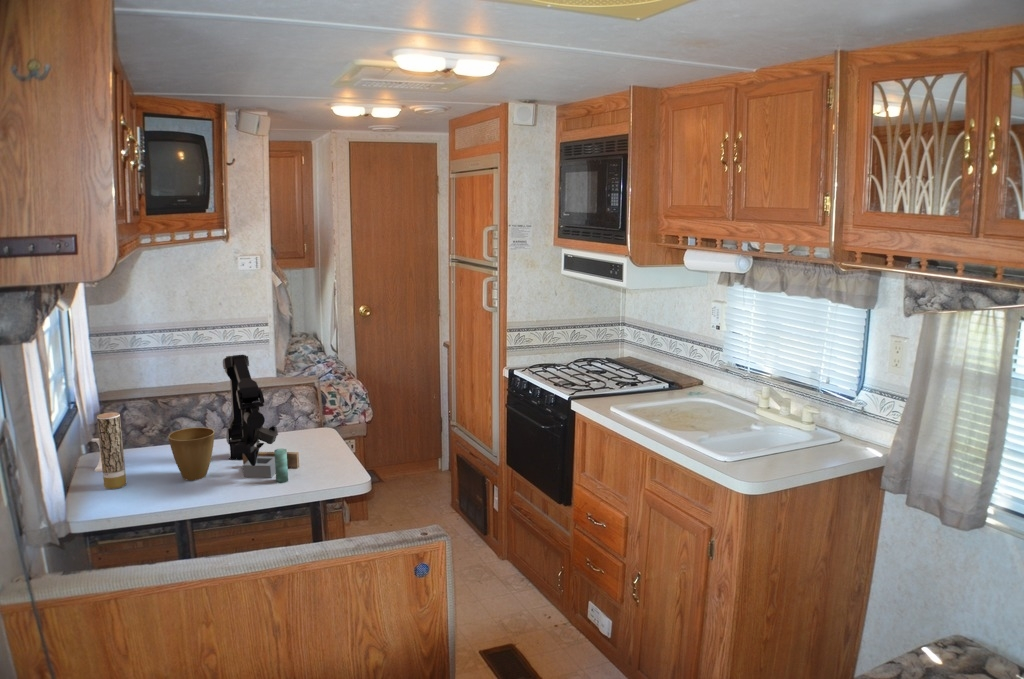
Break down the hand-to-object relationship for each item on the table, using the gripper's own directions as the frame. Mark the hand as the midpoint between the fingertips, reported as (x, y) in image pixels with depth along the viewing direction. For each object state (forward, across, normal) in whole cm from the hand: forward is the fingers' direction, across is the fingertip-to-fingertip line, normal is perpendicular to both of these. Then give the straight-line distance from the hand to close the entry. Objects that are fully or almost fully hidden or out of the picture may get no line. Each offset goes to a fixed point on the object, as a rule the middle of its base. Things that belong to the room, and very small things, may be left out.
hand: (253, 465), depth 267 cm
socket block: (+5, +7, 0) cm, 9 cm away
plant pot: (+6, +2, +22) cm, 23 cm away
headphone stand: (+6, +9, +59) cm, 60 cm away
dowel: (+5, 0, -10) cm, 11 cm away
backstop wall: (+5, +13, -1) cm, 14 cm away
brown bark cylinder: (+6, -8, +45) cm, 46 cm away
